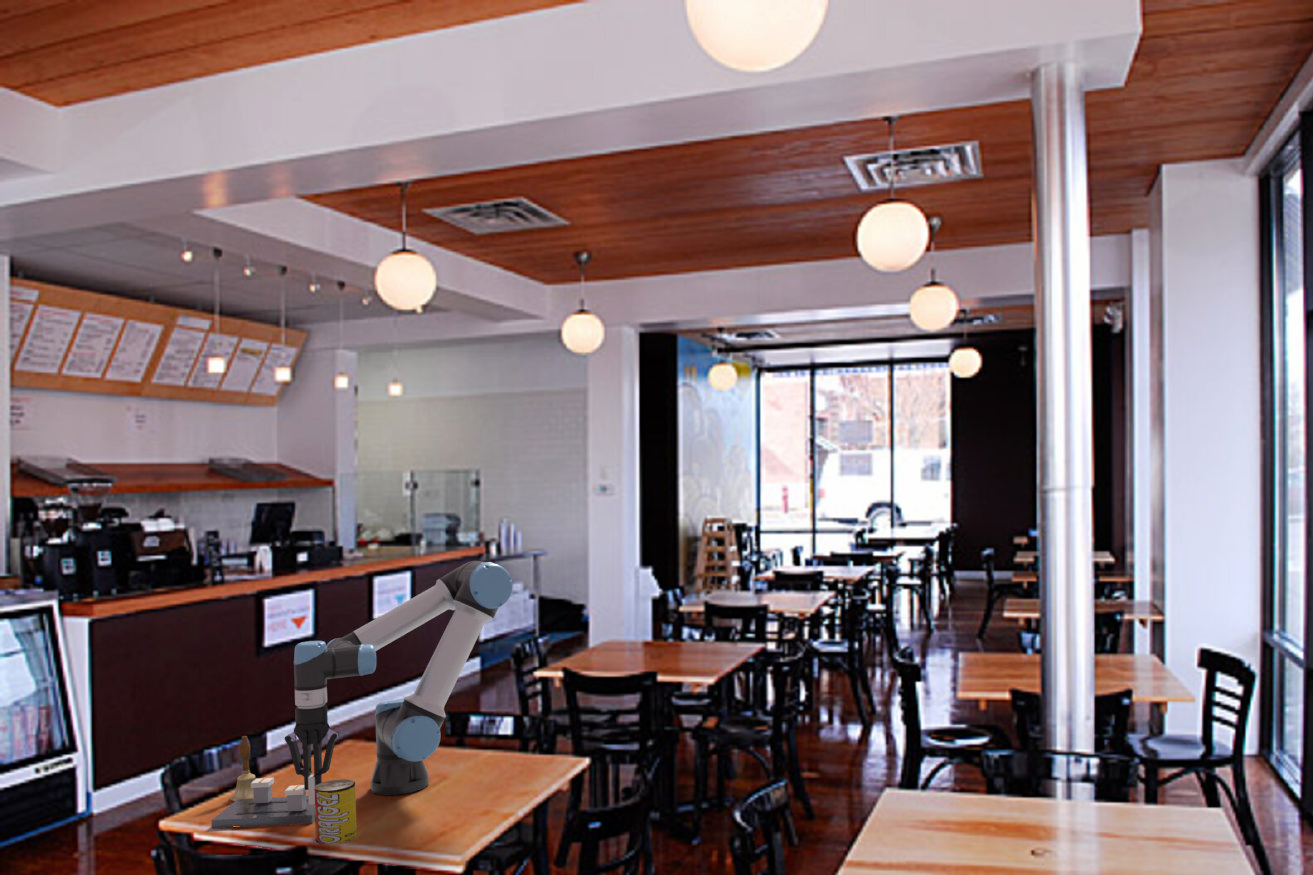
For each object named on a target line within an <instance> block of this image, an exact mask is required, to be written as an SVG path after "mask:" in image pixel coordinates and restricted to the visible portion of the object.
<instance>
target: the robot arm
mask: <svg viewBox="0 0 1313 875" xmlns="http://www.w3.org/2000/svg"><path fill="white" fill-rule="evenodd" d="M512 592H513V580H512V578H511V575H510V573H509V571H508V570H506V568H504V567H503V566H501V565H500V564H498V563H494V562H492V561H489V562H488V561H482V560H481V561H480V560H472V561H468V562H466V563H464V564H462V565H460V566H458V567H456V568H455V569H453V570H451V571H450V572H448V573H447V574H445V575H444V576H442V577H440V578H439V579H437V580H436V582H435V584H434V585H433V586H431V587H430V588H428V589H426V590H424V591H422V592H421V593H419V594H417V595H416V596H414V597H412V598H410V599H409V600H407V601H404V602H403V603H402V604H401V603H400V605H398V606H396V607H395V608H393V609H391V610H389V611H387V612H385V613H383V614H382V615H381V616H378V617H376V618H375V619H373V620H371V621H370V622H367V623H366V624H364V625H363V626H360V627H359V628H357V629H355V630H353V631H352V632H350V633H348V634H346V635H344V636H343V637H338V638H334V639H332V640H330V641H329V642H328V643H327V644H326V642H325V641H323V640H309V641H302V642H300V643H297V644H296V645H295V646H294V655H293V656H294V658H293V659H294V660H293V666H294V667H293V669H294V670H293V671H294V672H293V673H294V703H295V704H294V705H295V706H296V708H295V709H294V711H295V712H294V713H295V716H294V718H295V720H294V722H295V725H294V728H293V731H292V732H290V733H288V734H287V735H286V736H285V737H284V741H285V742H286V744H287V746H288V747H289V752H290V755H291V760H292V763H293V767H294V770H295V773H296V774H295V775H298V776H299V775H300V776H302V777H303V782H304V784H303V785H304V788H305V790H307V793H308V796H309V804H315V792H314V788H315V786H316V785H318V784H320V783H322V781H323V780H322V775H324V774H326V773H327V772H328V771H329V770H330V766H331V762H332V758H333V753H334V749H335V748H334V747H335V744H336V741H337V739H338V737H339V736H340V732H339V731H334V730H332V729H330V728H331V727H330V724H329V721H328V720H329V718H328V716H329V714H328V705H327V703H328V688H327V687H328V686H327V685H328V682H327V681H328V680H332V679H333V680H334V679H339V678H348V677H355V676H356V677H358V676H361V677H363V676H365V675H369V674H370V675H371V674H373V673H374V672H375V671H376V668H377V651H378V650H380V649H381V648H383V647H385V646H387V645H388V644H391V643H392V642H394V641H395V640H398V639H399V638H402V637H403V636H405V635H406V634H407V633H409V632H411V631H413V630H415V629H417V628H418V627H421V626H422V625H424V624H425V623H427V622H428V621H430V620H432V619H434V618H436V617H438V616H439V615H441V614H443V613H445V612H446V611H448V610H451V611H454V612H453V613H452V616H451V617H450V620H449V622H448V624H447V625H446V628H445V630H444V632H443V634H442V636H441V637H440V640H439V642H438V644H437V646H436V648H435V650H434V651H433V654H432V656H431V658H430V660H429V662H428V664H427V666H426V668H425V670H424V672H423V674H422V676H421V679H420V680H419V682H418V684H417V686H416V688H415V690H414V692H413V694H411V695H409V696H406V697H404V698H400V699H392V700H386V701H382V702H379V703H377V704H376V706H375V713H374V718H375V738H376V739H375V740H376V741H375V742H376V744H375V745H376V746H375V747H376V762H375V766H374V769H373V771H372V775H371V776H372V777H371V780H370V791H371V792H372V793H373V794H377V795H384V796H385V795H386V796H392V795H393V796H396V795H405V794H410V793H414V792H418V791H420V790H424V789H425V788H427V787H428V786H429V783H430V776H429V772H428V768H427V767H426V764H425V761H424V760H426V759H428V758H430V757H431V756H432V755H433V754H434V753H435V752H436V750H438V747H439V745H440V742H441V728H442V725H443V724H444V721H445V720H446V717H447V715H446V712H445V705H446V704H447V701H448V700H449V697H450V696H451V693H452V692H453V689H454V687H455V685H456V684H457V681H458V678H459V676H460V674H461V673H462V671H463V669H464V667H465V664H466V662H467V660H468V659H469V656H470V654H471V652H472V650H473V648H474V646H475V644H476V642H477V640H478V638H479V636H480V634H481V631H482V629H483V627H484V625H485V624H486V623H487V622H490V621H493V620H494V618H495V616H496V614H497V612H498V610H499V608H500V607H502V606H503V605H505V604H506V603H507V602H508V601H509V600H510V597H511V596H512ZM326 736H327V740H328V742H327V744H326V748H325V753H324V757H323V756H322V755H323V754H322V753H323V750H322V745H323V740H324V739H325V737H326ZM297 738H298V740H299V741H300V742H301V745H302V746H301V749H302V756H301V753H300V749H299V745H298V742H297ZM312 748H313V749H312ZM312 750H313V770H312ZM322 758H323V760H322ZM312 773H313V774H312ZM426 786H427V787H426ZM417 790H418V791H417Z"/></svg>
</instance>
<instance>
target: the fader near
mask: <svg viewBox="0 0 1313 875" xmlns="http://www.w3.org/2000/svg"><path fill="white" fill-rule="evenodd" d="M307 792H308V790H305V788H304V784H300V783H299V784H297V785H295V784H294V785H289V786H288V787H287V788H286V789H285V790H284V797H287V808H288V811H303V810H304V809H305V808H306V796H307Z"/></svg>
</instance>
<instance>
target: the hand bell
mask: <svg viewBox="0 0 1313 875" xmlns="http://www.w3.org/2000/svg"><path fill="white" fill-rule="evenodd" d="M239 753H240V757H241V761H242V774H241V775H239V776H238V777H237V782H236V787H235V789H234V792H233V794H232V795H231V796H230V797H229V800H230V801H231V800H233V801H232V802H234V801H236V800H238V799H254V797H253V788H251V783H252V782H253V781H254V780H255V779H257V777H256V775H255V774H253V773H251V770H250V760H249V759H250V755H251V744H250V741H249V739H248V736H247V735H242V736H241V740H240V743H239Z"/></svg>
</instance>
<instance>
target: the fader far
mask: <svg viewBox="0 0 1313 875" xmlns="http://www.w3.org/2000/svg"><path fill="white" fill-rule="evenodd" d="M274 783H275V777H265V776H264V777H261V778H256V779H255V780H254V781H253V782H252V783H251V788H253V797H254V803H268V802H270V801H271V800H272V798H273V784H274Z"/></svg>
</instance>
